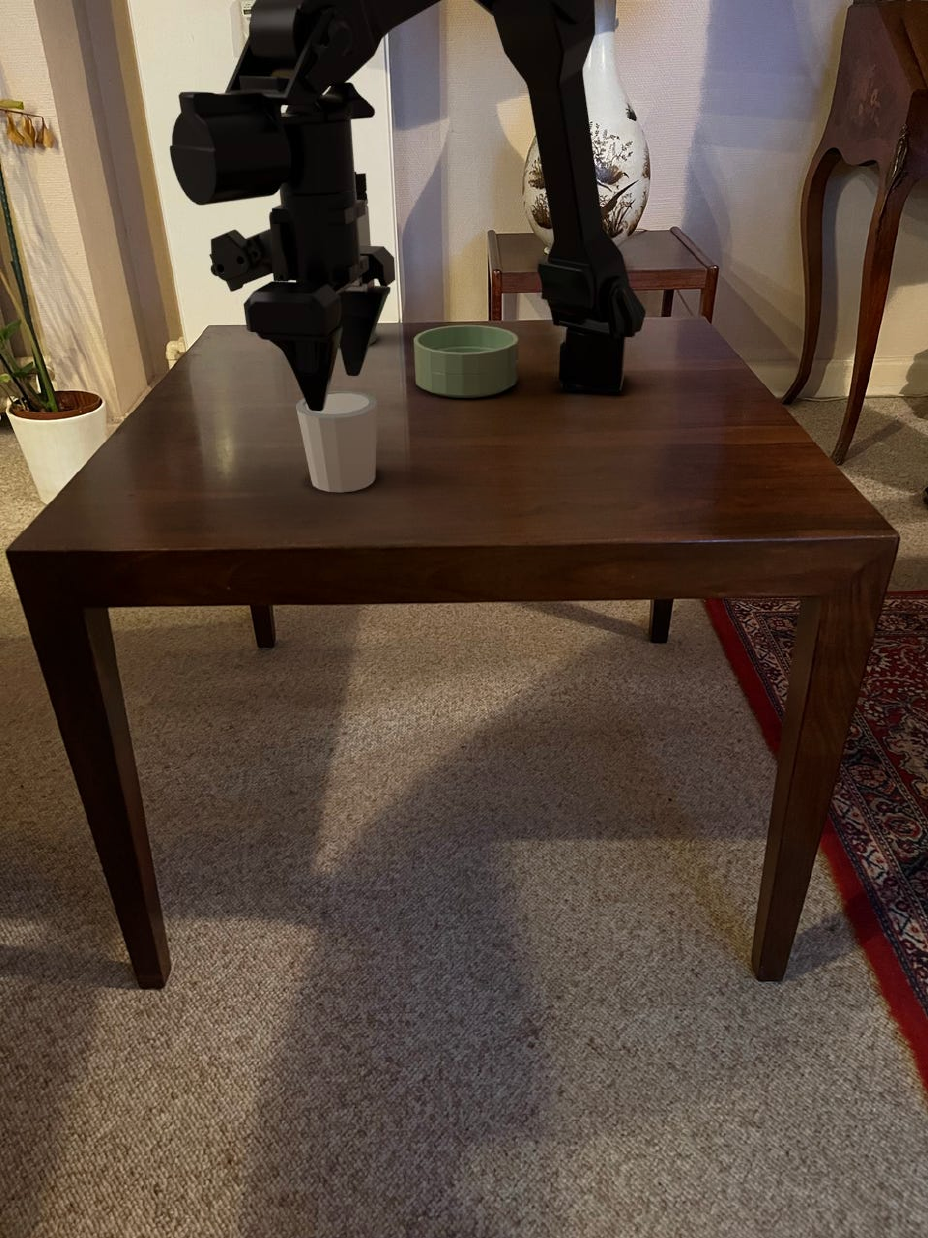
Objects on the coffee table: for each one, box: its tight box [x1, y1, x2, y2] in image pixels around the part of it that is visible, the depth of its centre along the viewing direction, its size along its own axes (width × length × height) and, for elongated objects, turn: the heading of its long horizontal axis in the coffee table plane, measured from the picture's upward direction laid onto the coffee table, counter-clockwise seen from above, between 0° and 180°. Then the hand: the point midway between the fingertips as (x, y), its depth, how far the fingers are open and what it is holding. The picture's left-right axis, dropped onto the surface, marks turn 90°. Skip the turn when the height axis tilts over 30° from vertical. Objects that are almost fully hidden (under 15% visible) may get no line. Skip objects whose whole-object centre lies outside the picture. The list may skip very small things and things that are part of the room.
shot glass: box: [295, 390, 378, 493], centre depth 80 cm, size 7×7×7 cm
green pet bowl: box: [413, 324, 520, 399], centre depth 103 cm, size 11×11×5 cm
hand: (335, 392), depth 78 cm, fingers open, 9 cm apart
